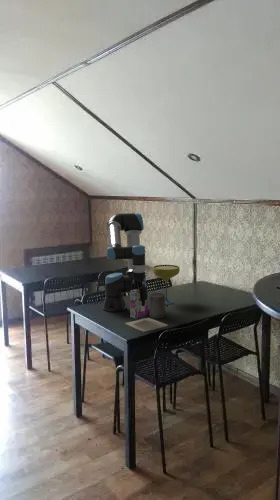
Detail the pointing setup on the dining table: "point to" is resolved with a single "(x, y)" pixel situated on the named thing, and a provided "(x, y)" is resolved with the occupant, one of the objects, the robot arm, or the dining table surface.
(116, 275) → the robot arm
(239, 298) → the dining table surface
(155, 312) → the pillar candle
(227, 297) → the dining table surface
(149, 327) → the mat
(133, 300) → the candy bar box
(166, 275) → the cocktail glass
